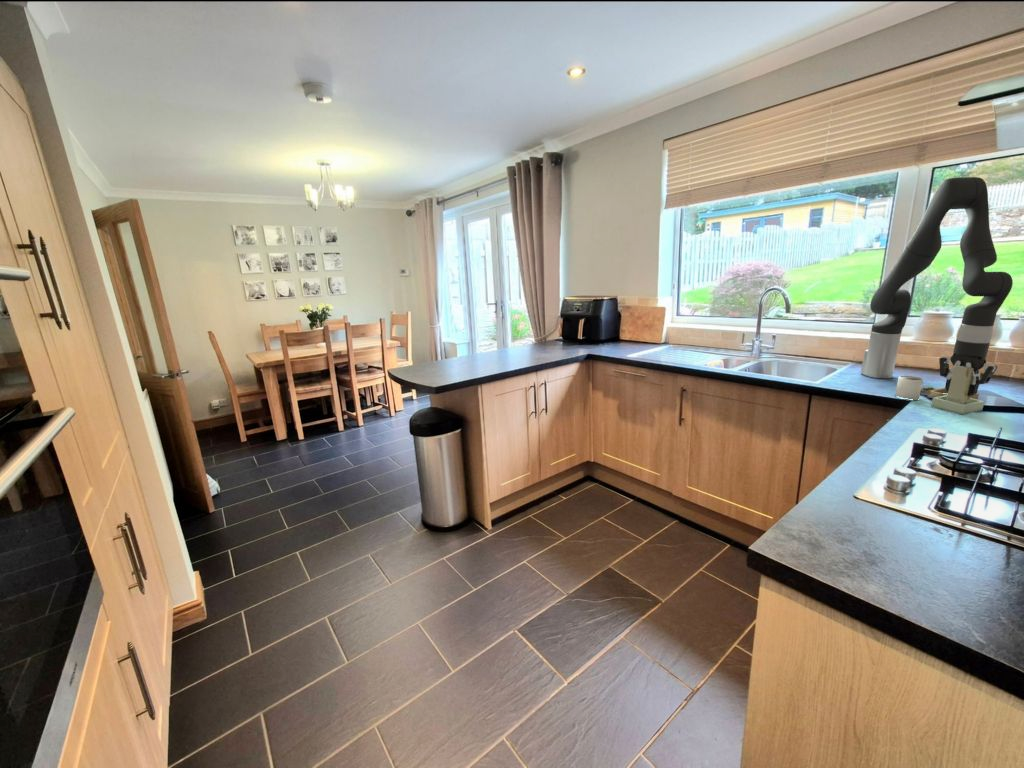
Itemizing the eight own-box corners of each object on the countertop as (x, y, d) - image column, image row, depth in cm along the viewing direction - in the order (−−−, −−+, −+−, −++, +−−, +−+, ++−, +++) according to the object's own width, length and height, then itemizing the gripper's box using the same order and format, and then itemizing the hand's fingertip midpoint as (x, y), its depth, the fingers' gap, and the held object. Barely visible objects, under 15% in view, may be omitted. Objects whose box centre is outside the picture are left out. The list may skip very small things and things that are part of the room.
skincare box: (962, 407, 147) (972, 368, 144) (944, 403, 151) (953, 366, 148) (969, 403, 151) (979, 365, 147) (951, 399, 154) (961, 362, 151)
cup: (890, 396, 164) (894, 376, 162) (902, 393, 166) (906, 374, 164) (910, 401, 158) (915, 381, 156) (923, 399, 161) (928, 378, 159)
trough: (930, 406, 153) (932, 397, 153) (950, 402, 157) (952, 393, 156) (962, 415, 146) (964, 405, 145) (982, 410, 149) (984, 401, 148)
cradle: (909, 393, 167) (910, 386, 166) (928, 389, 170) (930, 382, 170) (956, 405, 154) (958, 398, 153) (977, 401, 158) (979, 393, 157)
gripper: (1011, 342, 140) (995, 398, 145) (953, 334, 153) (940, 385, 158) (995, 345, 137) (980, 401, 142) (938, 336, 150) (925, 388, 155)
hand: (959, 393), depth 150 cm, fingers closed on skincare box, 5 cm apart
